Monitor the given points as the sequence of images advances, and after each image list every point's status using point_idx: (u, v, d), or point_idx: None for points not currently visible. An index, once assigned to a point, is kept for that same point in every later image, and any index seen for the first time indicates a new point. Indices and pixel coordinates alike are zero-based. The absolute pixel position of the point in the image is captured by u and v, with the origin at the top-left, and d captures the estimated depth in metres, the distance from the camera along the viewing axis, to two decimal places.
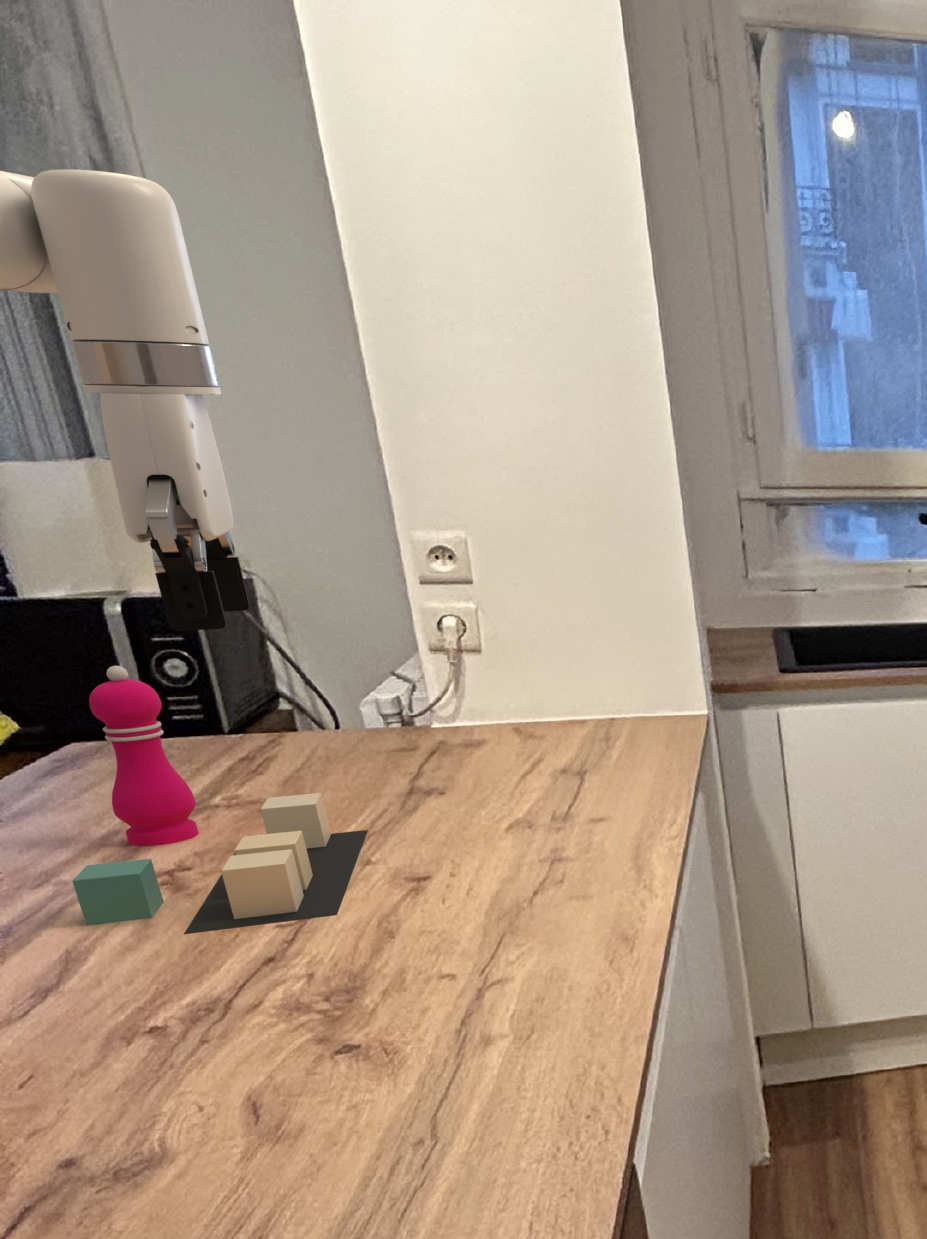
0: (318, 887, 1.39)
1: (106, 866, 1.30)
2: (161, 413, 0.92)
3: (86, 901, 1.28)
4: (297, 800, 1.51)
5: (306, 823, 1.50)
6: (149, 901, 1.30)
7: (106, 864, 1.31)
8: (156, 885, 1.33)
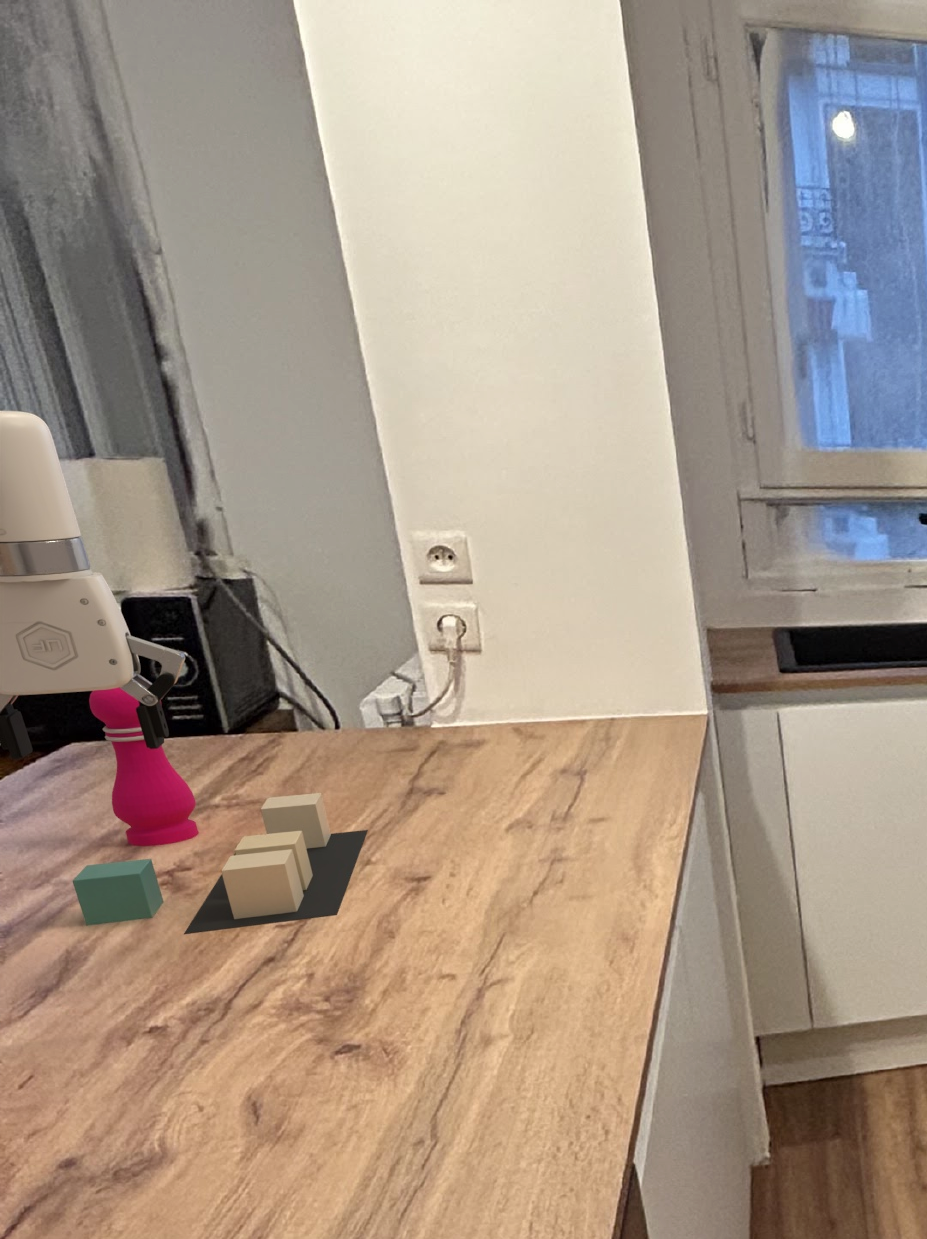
0: (318, 887, 1.39)
1: (106, 866, 1.30)
2: None
3: (86, 901, 1.28)
4: (297, 800, 1.51)
5: (306, 823, 1.50)
6: (149, 901, 1.30)
7: (106, 864, 1.31)
8: (156, 885, 1.33)
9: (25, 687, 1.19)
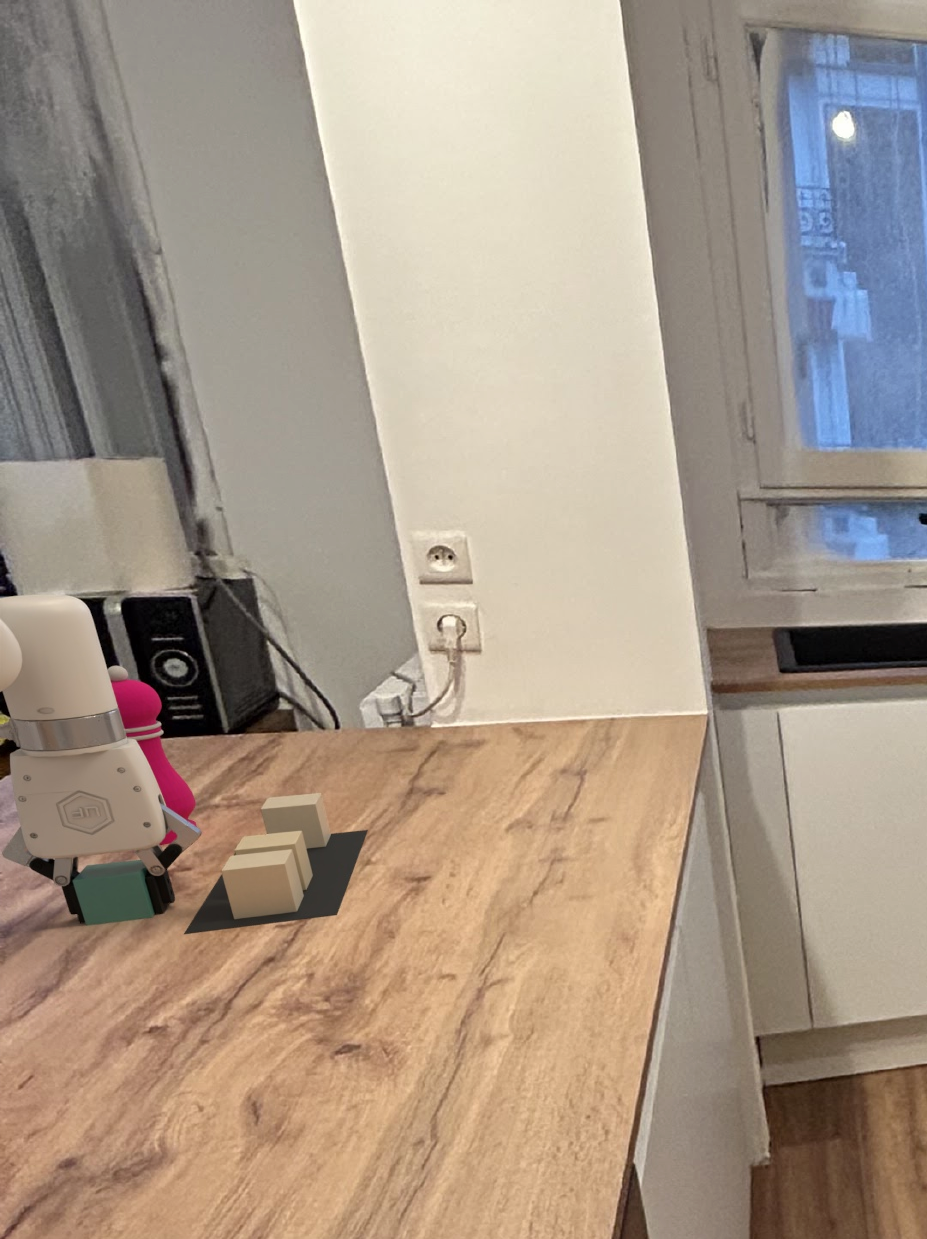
0: (318, 887, 1.39)
1: (106, 866, 1.30)
2: (143, 753, 1.29)
3: (86, 901, 1.28)
4: (297, 800, 1.51)
5: (306, 823, 1.50)
6: (149, 901, 1.30)
7: (106, 864, 1.31)
8: None
9: (64, 851, 1.26)
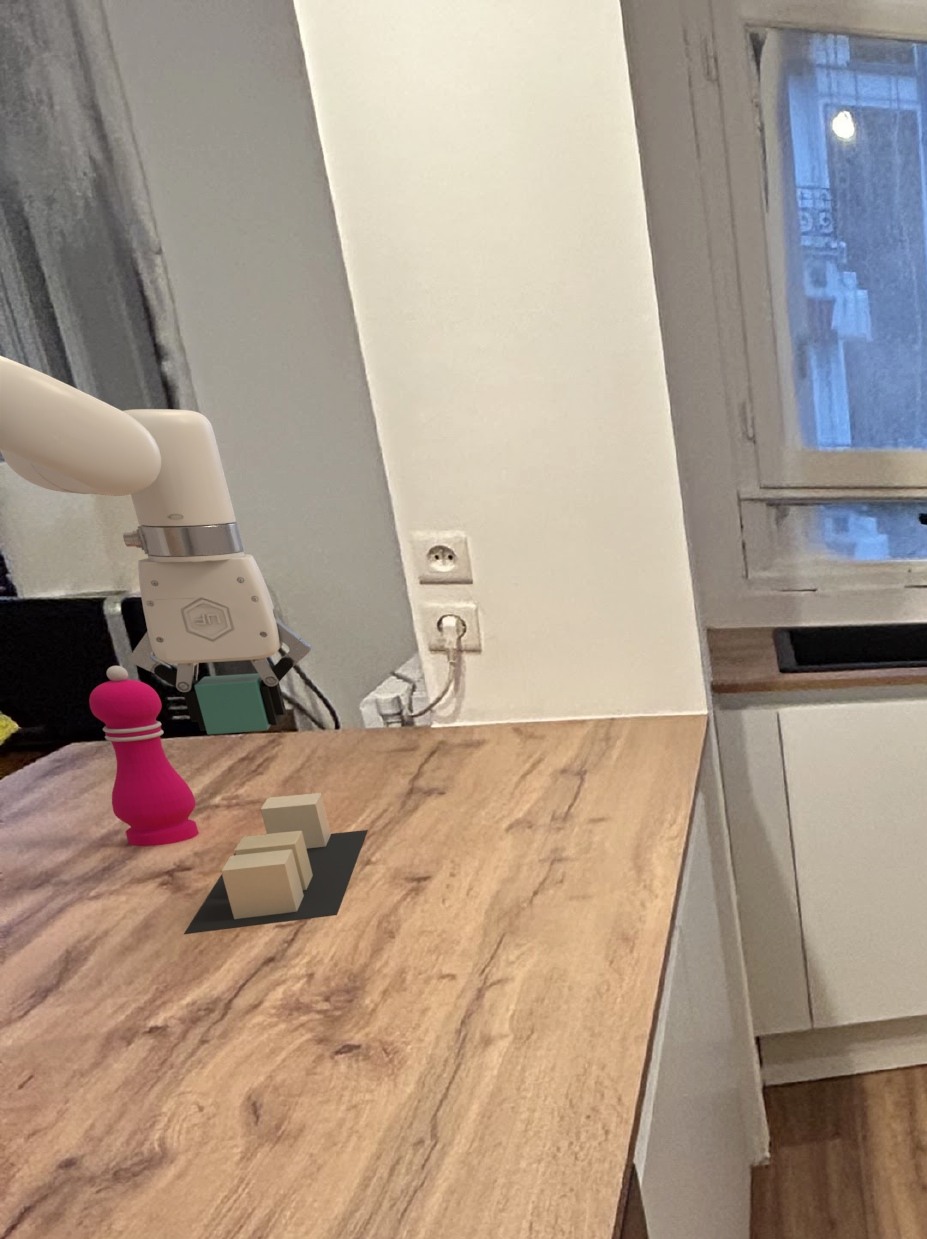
0: (318, 887, 1.39)
1: (223, 677, 1.38)
2: (258, 568, 1.36)
3: (207, 707, 1.35)
4: (297, 800, 1.51)
5: (306, 823, 1.50)
6: (263, 710, 1.38)
7: (222, 676, 1.38)
8: None
9: (187, 656, 1.33)
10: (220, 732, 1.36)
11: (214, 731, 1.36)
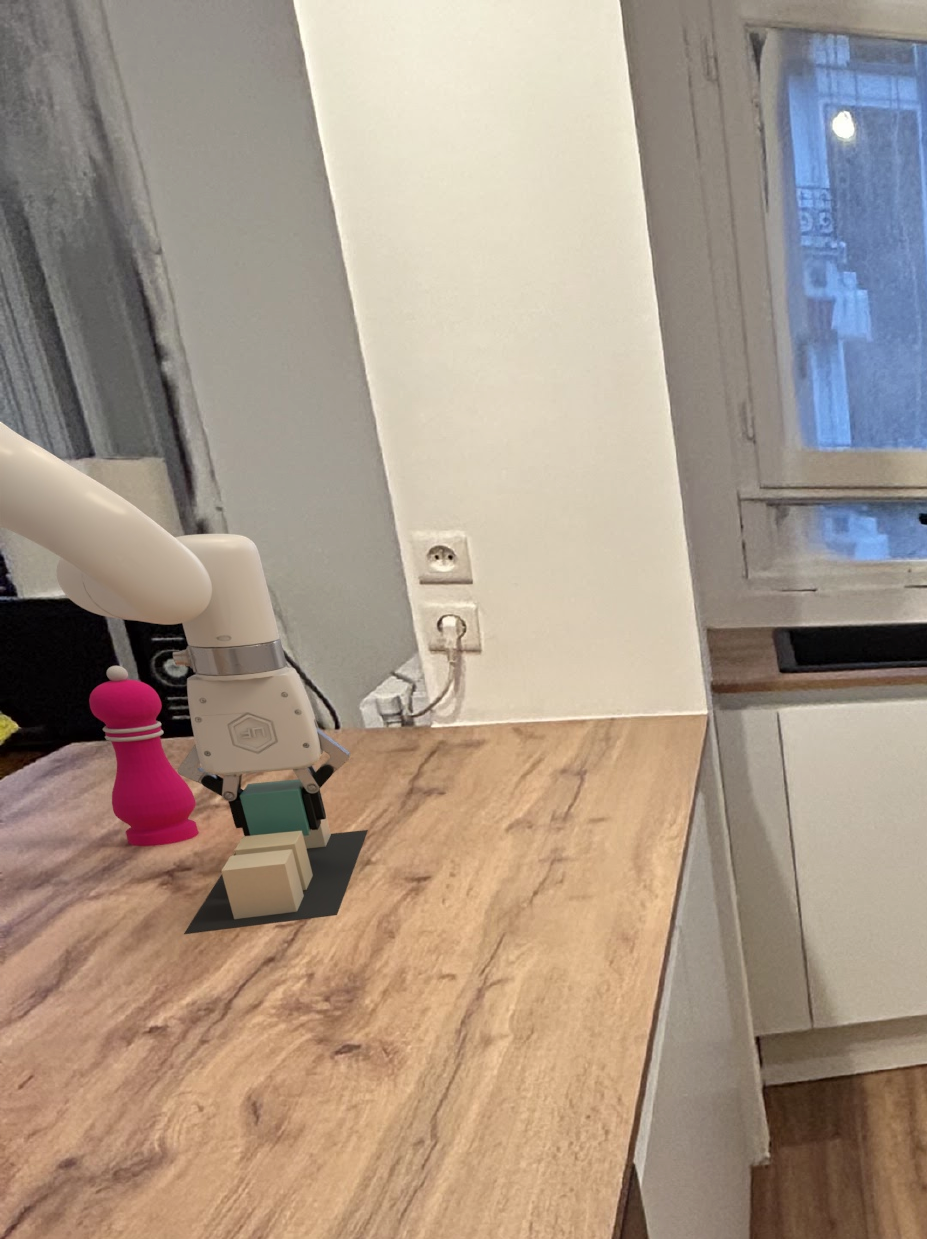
0: (318, 887, 1.39)
1: (266, 784, 1.43)
2: None
3: (251, 815, 1.40)
4: None
5: None
6: (305, 816, 1.43)
7: (265, 783, 1.44)
8: None
9: (233, 768, 1.38)
10: None
11: None
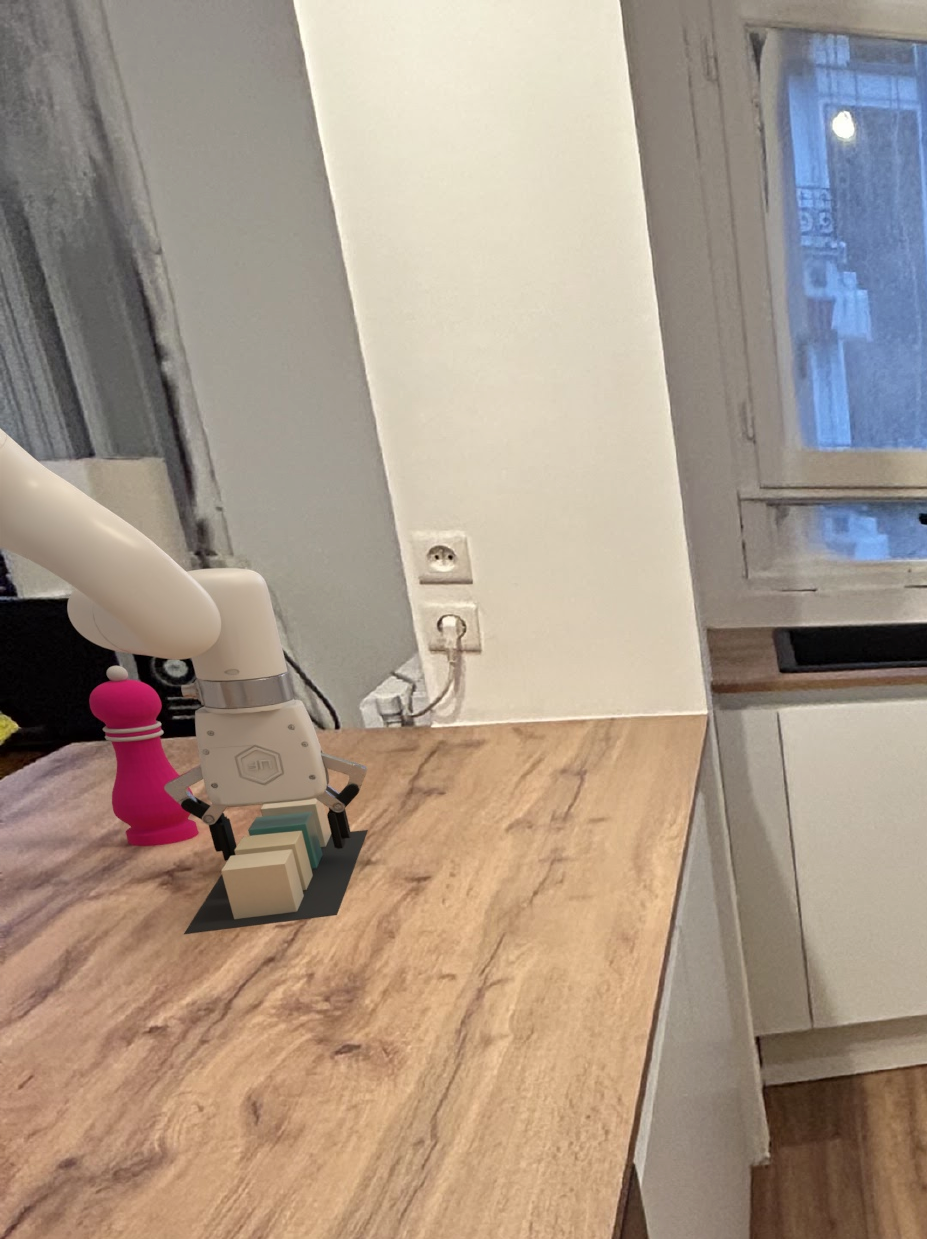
0: (318, 887, 1.39)
1: (274, 818, 1.44)
2: (307, 712, 1.43)
3: None
4: None
5: None
6: (313, 849, 1.44)
7: (273, 816, 1.45)
8: (316, 836, 1.47)
9: (239, 800, 1.39)
10: None
11: None
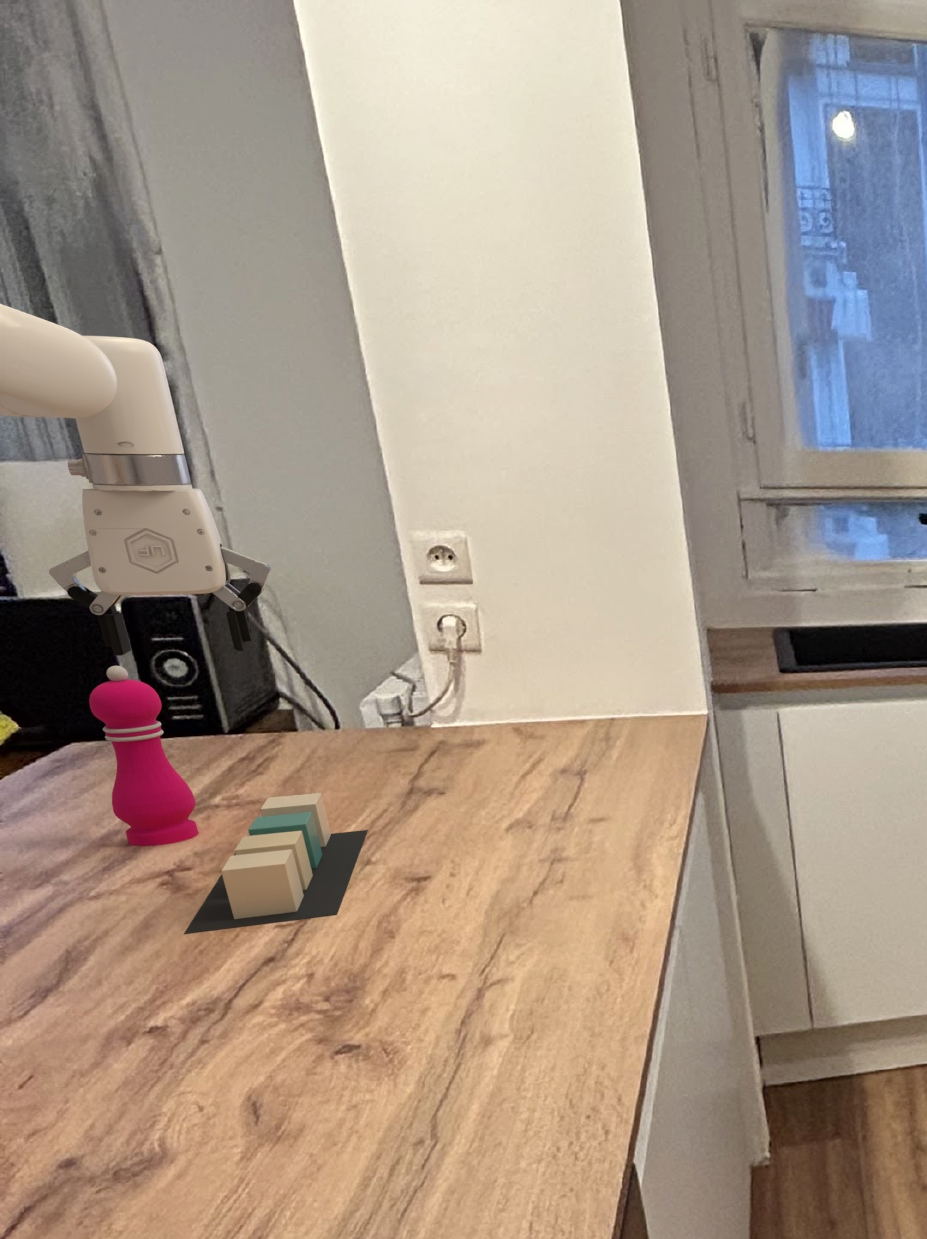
0: (318, 887, 1.39)
1: (274, 818, 1.44)
2: None
3: None
4: (297, 800, 1.51)
5: None
6: (313, 849, 1.44)
7: (273, 816, 1.45)
8: (316, 836, 1.47)
9: (130, 588, 1.31)
10: None
11: None
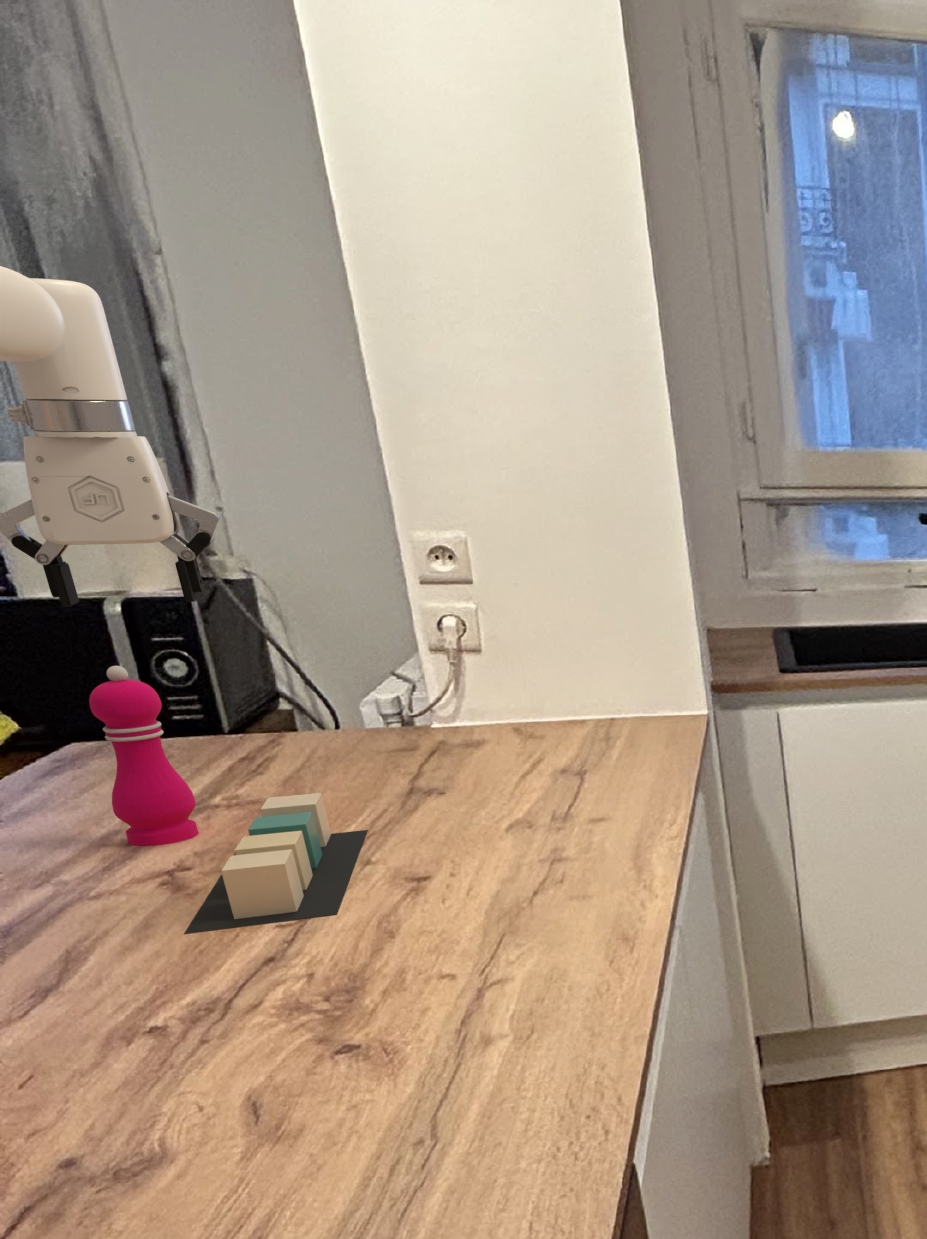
0: (318, 887, 1.39)
1: (274, 818, 1.44)
2: None
3: None
4: (297, 800, 1.51)
5: None
6: (313, 849, 1.44)
7: (273, 816, 1.45)
8: (316, 836, 1.47)
9: (75, 537, 1.30)
10: None
11: None
